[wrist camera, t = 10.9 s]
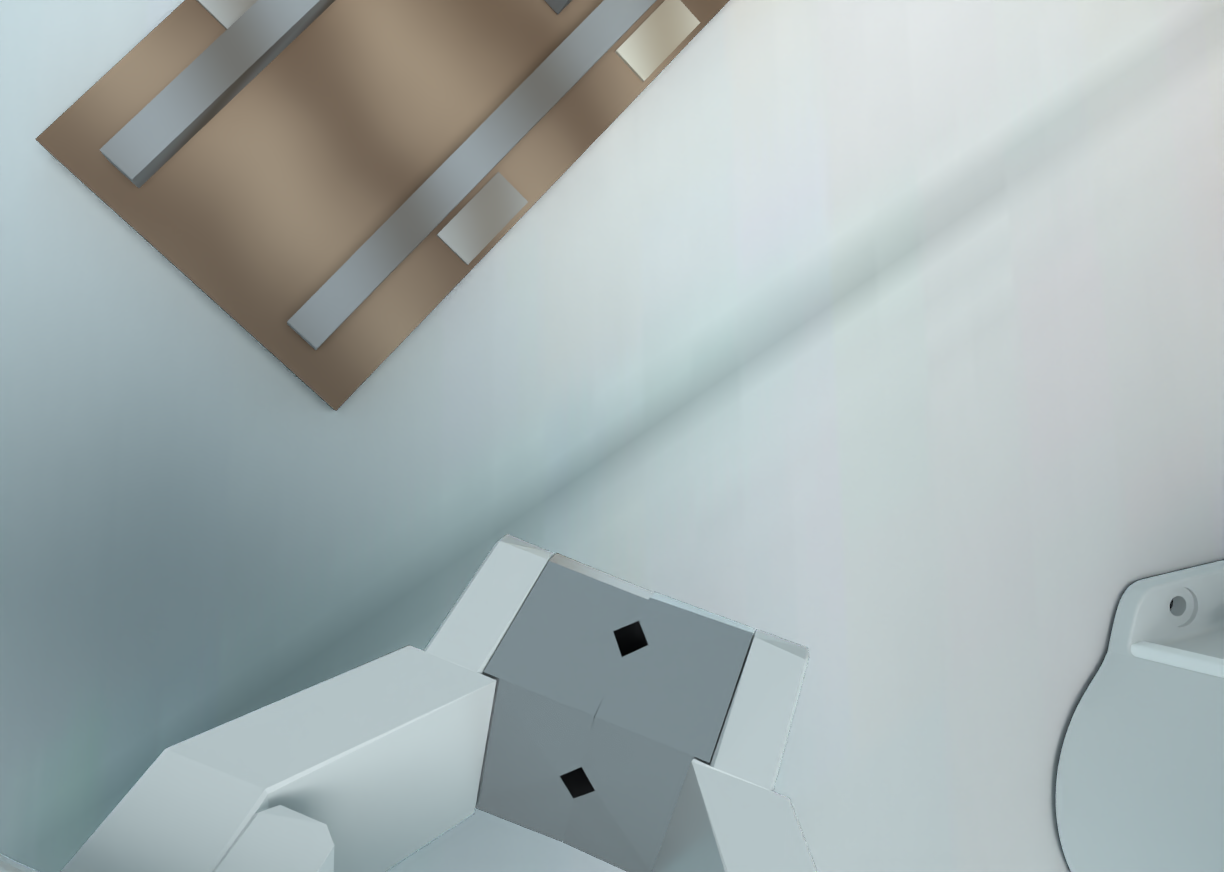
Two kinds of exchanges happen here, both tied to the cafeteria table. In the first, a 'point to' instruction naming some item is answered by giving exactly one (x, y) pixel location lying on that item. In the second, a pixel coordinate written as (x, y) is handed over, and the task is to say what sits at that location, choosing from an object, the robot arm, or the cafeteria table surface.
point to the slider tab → (558, 4)
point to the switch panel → (354, 149)
